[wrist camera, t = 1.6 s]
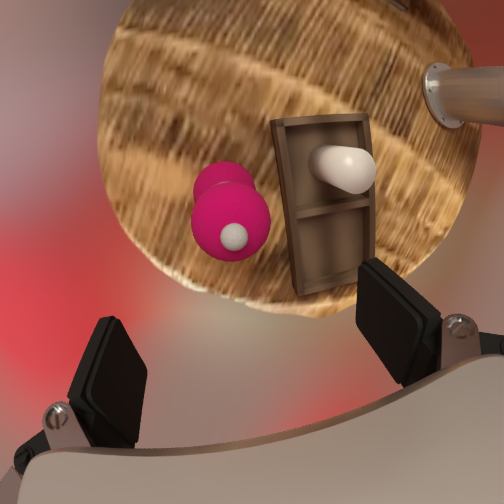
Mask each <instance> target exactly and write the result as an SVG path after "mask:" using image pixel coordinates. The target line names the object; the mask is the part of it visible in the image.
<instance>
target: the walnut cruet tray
mask: <svg viewBox="0 0 504 504" xmlns="http://www.w3.org/2000/svg"><path fill="white" fill-rule="evenodd" d="M270 125H271V131H272V136H273V143H274V149H275V155H276V161H277V168H278V174H279V181H280V188H281V195H282V202H283V209H284V217H285V224H286V232H287V240H288V248H289V256H290V265H291V273H292V282H293V288H294V289H295V291H296V293H297V295H298V297H299V296H303V295H307V294H311V293H315V292H319V291H323V290H326V289H330V288H334V287H338V286H341V285H345V284H349V283H352V282H356V281H358V267H359V265H361V263H362V261H363V260H367V259H371V258H375V183H374V182H373V184H372V186H371V187H370V188H369V189H368V190H366V191H365V192H363V193H360V194H352V193H349V192H347V191H344V190H342V189H340V188H338V187H336V186H333V185H331V184H329V183H327V182H324V181H322V180H320V179H318V178H316V177H314V176H313V175H312V174H311V172H310V170H309V168H308V157H309V154H310V152H311V151H312V150H313V149H314V148H315V147H316V146H318V145H322V144H326V145H336V146H344V147H352V148H359V149H363V150H365V151H367V152H368V153H369V154H370V155H371V156H372V158H373V153H372V142H371V132H370V124H369V116H368V113H361V114H330V115H314V116H302V117H292V118H283V119H275V120H271V121H270Z"/></svg>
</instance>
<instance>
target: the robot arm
mask: <svg viewBox="0 0 504 504" xmlns="http://www.w3.org/2000/svg"><path fill="white" fill-rule="evenodd" d="M423 93H424V97H425V100H426V103H427V106H428V108H429V110H430V112H431V114H432V115H433V117H434V118H435V119H436V120H437V122H439V123H440V124H441V125H442V126H444V127H447V128H453V129H455V128H458V127H460V126H461V125H462V124H463V123H464V121H465V122H474V123H482V124H489V125H495V126H502V127H504V66H502V67H501V66H499V67H496V66H494V67H470V68H458V69H452V68H451V67H449V66H448V65H446V64H444V63H440V62H437V63H432V64H430V65H429V66H428V67H427V68H426V69H425V72H424V75H423ZM440 315H441V313H440V312H439V311H438V310H437V309H435V307H433V305H431V304H430V303H429V302H428V301H427V300H426V299H425V298H424V297H423V296H421V295H420V294H419V293H418V292H417V291H416V290H415V289H414V288H412V287H411V286H410V285H409V284H408V283H407V282H405V281H404V280H403V279H402V278H401V277H400V276H398V275H397V274H396V273H395V272H394V271H393V270H391V269H390V268H389V267H388V266H387V265H385V264H384V263H383V262H382V261H380V260H379V259H378V258H376V257H375V258H371V259H367V260H363V261H362V263H361V265H359V267H358V283H357V304H356V325H357V327H358V328H359V330H360V331H361V333H362V334H363V335H364V337H365V338H366V340H367V341H368V343H369V344H370V345H371V347H372V348H373V350H374V351H375V352H376V354H377V355H378V357H379V358H380V360H381V361H382V363H383V364H384V365H385V367H386V368H387V370H388V371H389V373H390V374H391V376H392V377H393V379H394V380H395V382H396V383H397V384H400V383H401V385H402V386H403V389H401V390H399V391H397V392H395V393H392V394H390V395H388V396H386V397H383V398H381V399H379V400H377V401H374V402H372V403H369V404H367V405H365V406H362V407H359V408H357V409H354V410H352V411H349V412H346V413H343V414H341V415H338V416H335V417H332V418H329V419H326V420H323V421H320V422H316V423H314V424H310V425H306V426H303V427H299V428H295V429H292V430H288V431H284V432H280V433H275V434H271V435H266V436H261V437H257V438H252V439H246V440H241V441H234V442H227V443H221V444H213V445H204V446H193V447H181V448H159V449H156V448H155V449H134V447H135V443H137V442H138V439H139V430H140V422H141V414H142V406H143V399H144V393H145V386H146V380H147V368H146V366H145V364H144V362H143V360H142V359H141V357H140V355H139V354H138V352H137V350H136V349H135V347H134V345H133V343H132V341H131V339H130V338H129V336H128V334H127V332H126V330H125V328H124V326H123V324H122V323H121V321H120V320H119V319H116V318H115V317H114V316H109V317H103V318H100V319H99V321H98V323H97V325H96V327H95V329H94V332H93V334H92V336H91V338H90V340H89V342H88V345H87V347H86V349H85V352H84V354H83V356H82V359H81V361H80V363H79V366H78V368H77V371H76V373H75V376H74V378H73V381H72V383H71V386H70V389H69V392H68V395H67V397H68V398H69V399H70V401H69V404H68V403H66V402H63V401H59V402H55V403H53V404H52V405H51V406H49V407H48V408H47V410H46V411H45V413H44V415H43V419H42V424H43V428H44V429H43V430H42V431H41V432H39V433H38V434H37V435H35V436H34V437H32V438H31V439H30V440H28V441H27V442H26V443H25V444H23V445H21V446H20V447H19V448H18V449H17V451H16V453H15V456H14V466H15V468H14V467H13V466H11V468H10V469H9V470H8V472H7V473H6V475H5V476H4V477H3V479H2V480H1V481H0V504H504V335H497V334H490V333H483V332H479V331H478V327H477V324H476V323H475V322H474V320H473V319H471V318H470V317H468V316H466V315H463V314H451V315H448V316H447V317H446V318H445V319H444V320H443V319H442V318H441V317H440Z"/></svg>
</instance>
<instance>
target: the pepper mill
mask: <svg viewBox="0 0 504 504" xmlns="http://www.w3.org/2000/svg"><path fill="white" fill-rule="evenodd" d="M193 195H194V202H195V205H194V208H193V211H192V215H191V227H192V232H193V236H194V238H195V240H196V242H197V244H198V245H199V246H200V248H201V249H202V250H203V251H205V252H206V253H207V254H208V255H210V256H211V257H213V258H216V259H218V260H223V261H232V262H234V261H240V260H243V259H246V258H248V257H250V256H251V255H253V254H255V253H256V252H257V251H258V250H259V249H260V248H261V247H262V246H263V244H264V243H265V241H266V240H267V237H268V235H269V231H270V224H271V218H270V212H269V209H268V206H267V204H266V202H265V200H264V199H263V197H262V196H261V195H260V194H259V193H258V192H257V191H256V189H255V184H254V181H253V179H252V177H251V175H250V174H249V172H248V171H247V170H246V169H245V168H243V167H242V166H240V165H238V164H236V163H233V162H227V161H223V162H217V163H213V164H211V165H209V166H208V167H206V168H205V169H204V170H203V171H201V173H200V174H199V175H198V177H197V179H196V181H195V184H194V189H193Z"/></svg>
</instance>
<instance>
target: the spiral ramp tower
mask: <svg viewBox="0 0 504 504" xmlns="http://www.w3.org/2000/svg"><path fill="white" fill-rule="evenodd" d="M387 1H389V2H390V3H392V4H393V5H395V6H396V7H398V8H399V9H401V10H402V11H404V10H406V9H408V8H409V7H410V0H387Z"/></svg>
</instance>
